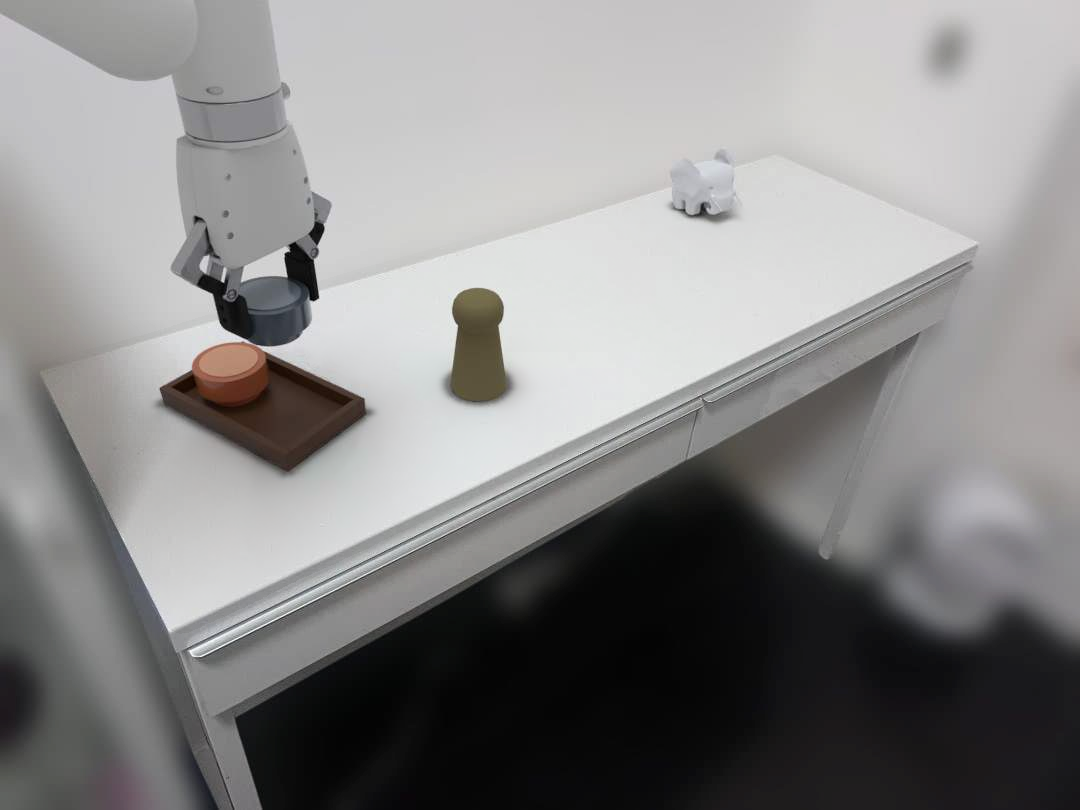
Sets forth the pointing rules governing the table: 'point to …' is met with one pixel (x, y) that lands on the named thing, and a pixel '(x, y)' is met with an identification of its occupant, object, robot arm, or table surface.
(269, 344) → the slate dish
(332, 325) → the table surface
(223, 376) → the terracotta dish
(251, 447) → the tray
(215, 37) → the robot arm
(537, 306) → the table surface
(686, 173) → the elephant figurine
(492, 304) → the pepper shaker
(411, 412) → the table surface
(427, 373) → the table surface
